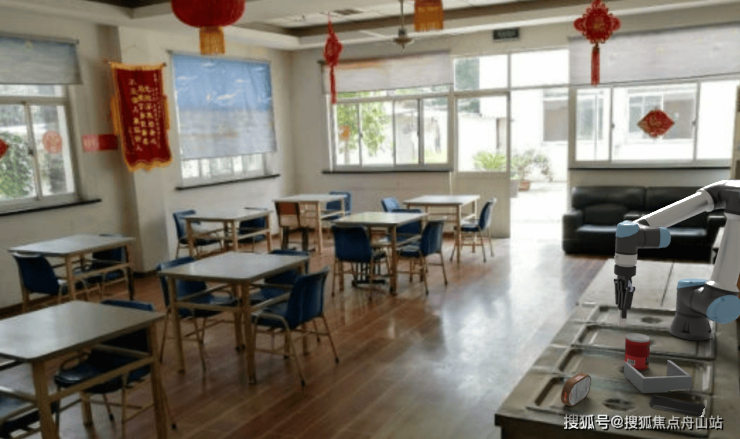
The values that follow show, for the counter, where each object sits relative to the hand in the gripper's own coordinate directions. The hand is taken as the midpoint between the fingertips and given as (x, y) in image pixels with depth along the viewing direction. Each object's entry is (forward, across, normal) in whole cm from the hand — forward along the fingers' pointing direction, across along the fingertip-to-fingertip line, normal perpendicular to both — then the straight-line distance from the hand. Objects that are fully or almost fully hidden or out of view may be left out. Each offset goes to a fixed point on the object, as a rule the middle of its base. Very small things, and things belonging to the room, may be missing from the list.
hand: (621, 325), depth 223 cm
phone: (+12, +43, -1) cm, 44 cm away
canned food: (+11, +12, +1) cm, 16 cm away
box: (+11, +26, +1) cm, 28 cm away
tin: (+12, +37, -30) cm, 49 cm away
